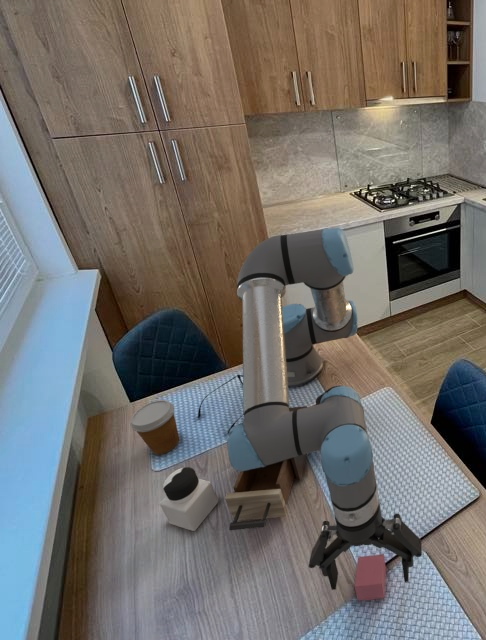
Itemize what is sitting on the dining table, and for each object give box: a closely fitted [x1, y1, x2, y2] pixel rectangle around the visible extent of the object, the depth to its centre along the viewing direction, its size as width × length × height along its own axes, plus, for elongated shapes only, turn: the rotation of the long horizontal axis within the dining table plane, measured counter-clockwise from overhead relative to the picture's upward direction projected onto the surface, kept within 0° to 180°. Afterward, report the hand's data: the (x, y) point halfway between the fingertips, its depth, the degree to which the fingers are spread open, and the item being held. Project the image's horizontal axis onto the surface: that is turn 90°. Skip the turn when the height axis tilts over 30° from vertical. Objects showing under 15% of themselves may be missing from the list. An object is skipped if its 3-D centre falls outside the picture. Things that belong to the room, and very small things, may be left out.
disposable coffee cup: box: [129, 399, 180, 455], centre depth 107 cm, size 10×10×12 cm
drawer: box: [224, 458, 295, 531], centre depth 92 cm, size 18×11×8 cm, turn 4°
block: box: [354, 553, 387, 602], centre depth 77 cm, size 5×5×5 cm
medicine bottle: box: [159, 466, 219, 532], centre depth 90 cm, size 7×7×12 cm
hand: (371, 577), depth 77 cm, fingers open, 13 cm apart
